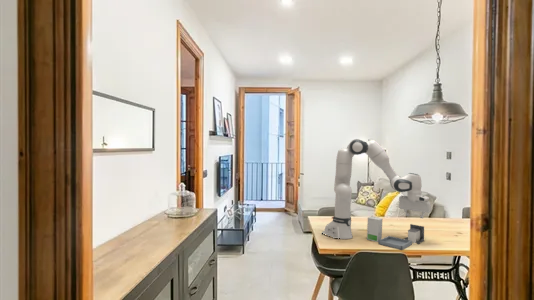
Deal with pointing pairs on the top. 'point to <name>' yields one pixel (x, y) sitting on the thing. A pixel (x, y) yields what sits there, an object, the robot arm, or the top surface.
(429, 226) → the top surface
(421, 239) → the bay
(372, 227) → the skincare box
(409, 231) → the caddy
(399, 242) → the tray
